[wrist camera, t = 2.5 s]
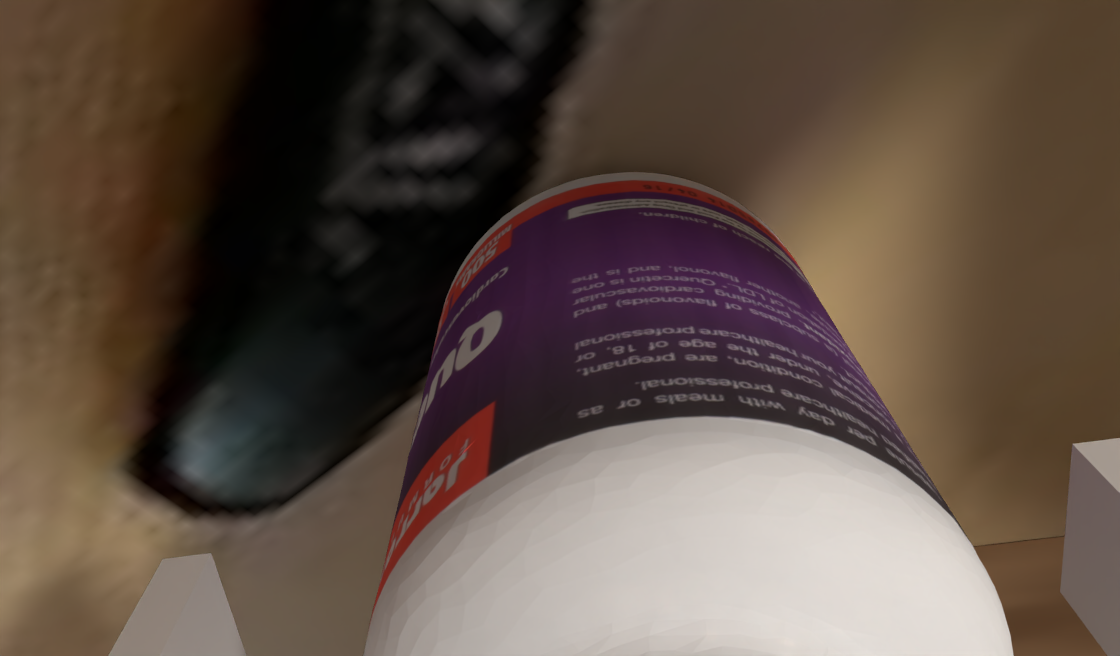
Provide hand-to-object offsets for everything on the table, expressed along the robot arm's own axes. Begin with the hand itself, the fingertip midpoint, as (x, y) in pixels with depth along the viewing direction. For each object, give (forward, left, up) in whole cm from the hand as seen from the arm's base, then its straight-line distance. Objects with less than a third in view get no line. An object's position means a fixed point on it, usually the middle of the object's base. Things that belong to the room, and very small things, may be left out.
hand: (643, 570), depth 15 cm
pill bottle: (0, 0, -8) cm, 8 cm away
